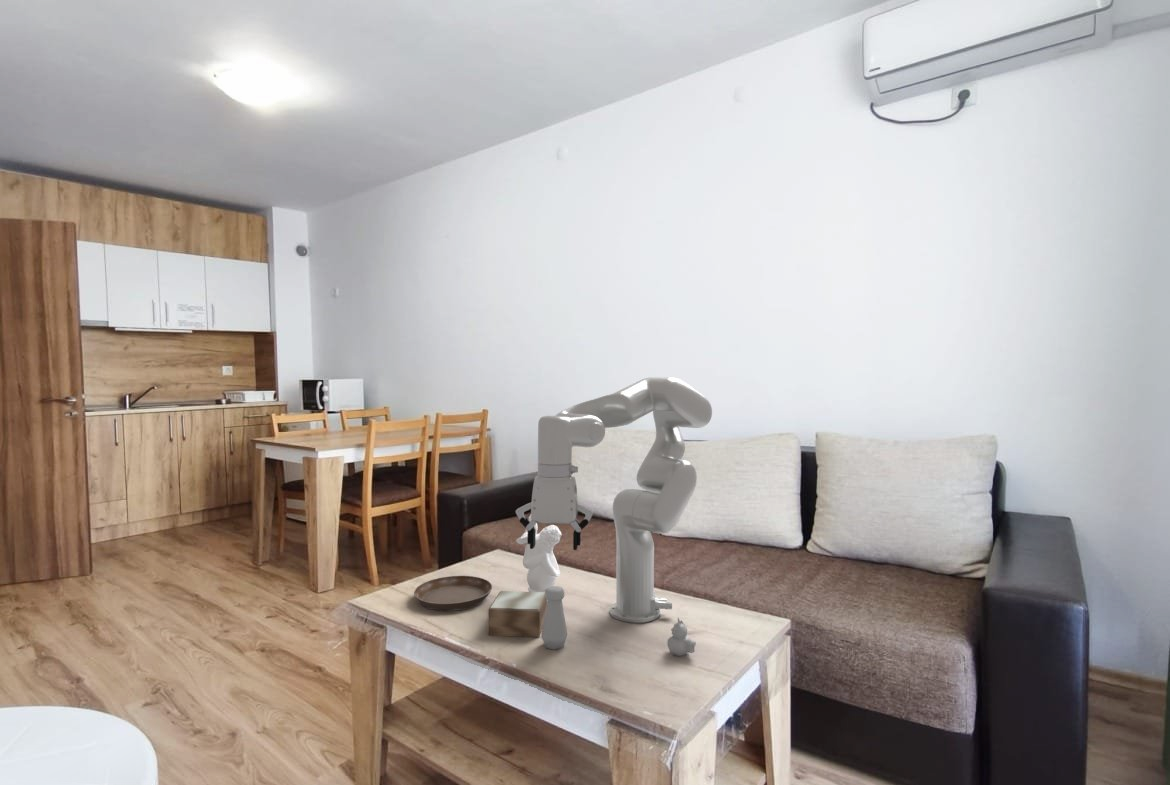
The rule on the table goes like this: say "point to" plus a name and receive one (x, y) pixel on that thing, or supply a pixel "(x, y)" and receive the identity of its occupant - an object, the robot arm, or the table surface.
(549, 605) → the salt shaker
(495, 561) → the table surface
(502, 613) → the square box
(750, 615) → the table surface
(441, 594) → the plant saucer
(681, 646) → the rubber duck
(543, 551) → the cherub figurine
